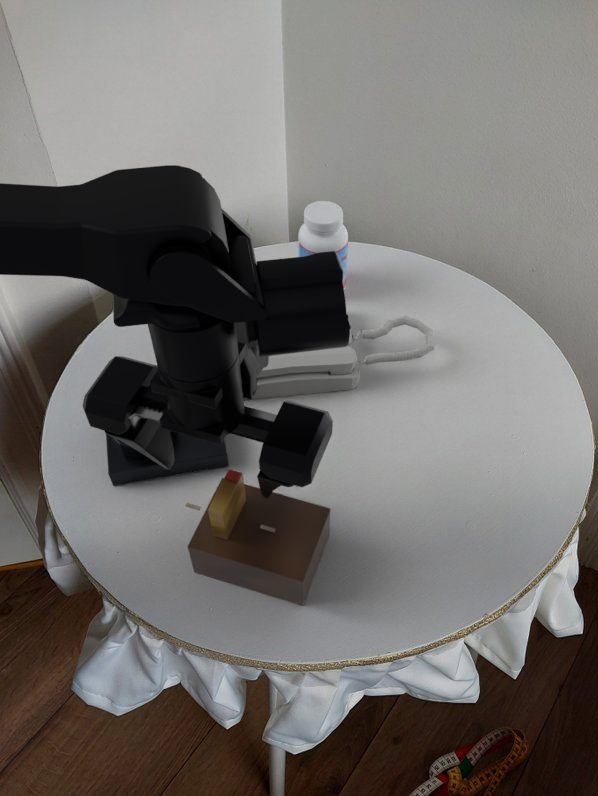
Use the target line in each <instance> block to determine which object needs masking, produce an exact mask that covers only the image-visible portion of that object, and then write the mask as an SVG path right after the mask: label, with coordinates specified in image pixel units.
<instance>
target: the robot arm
mask: <svg viewBox="0 0 598 796" xmlns="http://www.w3.org/2000/svg"><path fill="white" fill-rule="evenodd" d="M221 203H222V202H221V199H220V197H219V196H218V193H217V191H216V189H215V188H214V187H213V186H212V185H211V183H210V182H209V181H207V179H205V178H204V177H203V175H202V174H201V173H200V172H199V171H196V170H195V169H193V168H190V167H186V166H181V165H175V164H172V165H169V164H168V165H166V164H165V165H156V166H146V167H145V166H144V167H134V168H122V169H121V168H120V169H116V170H112V171H110V172H108V173H106V174H103V175H101V176H98V177H96V178H93V179H91V180H89V181H86V182H84V183H80V184H72V185H61V186H59V185H58V186H56V185H39V184H38V185H36V184H18V183H3V182H2V183H1V182H0V276H31V277H32V276H34V277H35V276H36V277H41V276H42V277H63V278H70V279H77V280H83V281H87V282H88V283H91V284H93V285H95V286H97V287H99V288H101V289H103V290H105V291H107V292H109V293H110V294H112V315H113V316H112V317H113V319H112V320H113V324H114V326H116V327H119V328H123V327H125V328H126V327H132V326H142V325H147V327H148V332H149V336H150V340H151V345H152V349H153V352H154V357H155V361H156V364H152V363H149V362H145V361H141V360H138V359H134V358H130V357H127V356H122V355H121V356H120V355H116V356H114V357H112V358H111V359H110V360H109V361H108V362H107V364H106V365H105V367H104V368H103V369H102V370H101V372H100V373H99V375H98V376H97V378H96V379H95V380H94V382H93V383H92V384H91V386H90V387H89V389H88V390H87V392H86V393H85V395H84V397H83V402H82V408H83V411H84V414H85V415H86V418H87V421H88V424H89V426H90V428H95V429H98V430H102V431H104V433H105V435H106V434H107V435H109V436H112V437H115V438H116V439H118V440H120V441H122V442H123V443H125V444H127V445H129V446H130V447H132V448H134V449H135V450H137V451H139V452H140V453H142V454H144V455H145V456H147V457H148V458H150V459H151V460H153V461H155V462H156V463H158V464H159V465H161V466H162V467H164V468H165V469H169V470H170V469H171V467H172V465H173V464H174V461H175V457H174V448H173V444H172V440H171V436H170V431H173V432H177V433H180V434H184V435H187V436H191V437H194V438H198V439H201V440H205V441H208V442H212V443H215V444H219V445H221V444H222V442H223V440H224V439H226V437H227V435H233V436H236V437H240V438H244V439H248V440H251V441H255V442H258V443H262V445H261V451H260V455H259V459H258V467H259V470H258V471H259V472H258V473H257V476H256V478H257V482H258V486H259V488H260V490H261V494H262V495H263V496H264V498H267V499H268V498H269V497H270V495H271V493H272V492H274V491H275V490H277V489H278V488H279V487H284V488H292V487H294V486H295V487H299V488H304V487H306V486H309V485H311V484H312V483H313V481H314V478H315V475H316V473H317V471H318V470H319V469H318V468H319V466H320V464H321V462H322V460H323V456H324V454H325V452H326V449H327V447H328V444H329V442H330V441H331V438H332V435H333V426H334V425H333V424H334V421H333V419H332V417H331V414H330V412H329V411H327V410H324V409H319V408H316V407H312V406H310V405H309V406H308V405H305V404H302V403H298V402H295V401H290V400H285V401H283V402H282V404H281V406H280V408H279V410H278V412H277V414H275V413H272V412H268V411H264V410H261V409H257V408H253V407H250V406H246V405H245V401H246V400H250V401H252V400H253V399H252V398H253V396H254V395H255V393H256V391H257V378H256V376H257V375H258V374H259V373H260V372H261V370H262V369H263V368H264V367H267V365H268V362H269V356H274V355H282V354H290V353H299V352H307V351H316V350H324V349H332V348H341V347H347V346H348V343H349V337H350V330H351V329H350V326H351V323H350V320H349V316H348V317H347V315H348V313H347V303H346V296H345V295H346V294H345V289H344V288H343V269H342V266H341V263H340V260H339V256H338V253H337V252H335V251H329V252H320V253H315V254H312V255H309V256H304V257H299V256H295V257H285V258H275V259H267V260H266V259H265V260H257V259H256V254H255V248H254V244H253V239H252V235H251V234H250V233H249V232H248V231H246V230H245V229H244V228H243V227H242V226H241V225H240V224H239V223H238V222H237V221H236V220H235V219H234V218H233V217H232V216H231V215H229V214H228V212H227V211H225V210H224V209H223V208H222V204H221ZM169 430H170V431H169Z"/></svg>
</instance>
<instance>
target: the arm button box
mask: <svg viewBox="0 0 598 796" xmlns="http://www.w3.org/2000/svg"><path fill="white" fill-rule="evenodd" d="M169 431H170V430H169ZM170 436H171V440H172V444H173V448H174V457H175V461H174V464H173V465H172V467H171V469H170V470H169V469H165V468H164V467H162V466H161V465H159V464H158V463H156V462H155V461H153V460H151V459H150V458H148V457H147V456H145V455H144V454H142V453H140V452H139V451H137V450H135V449H134V448H132V447H130V446H129V445H127V444H125V443H123V442H122V441H120V440H118V439H116V438H115V437H112V436H109V435H107V434H106V433H105V440H106V441H105V442H106V455H107V456H106V457H107V471H108V477H109V479H110V482H111V484H112V486H113V487H114V486H115V487H116V486H121V485H126V484H134V483H138V482H144V481H151V480H156V479H157V480H158V479H163V478H169V477H173V476H174V477H175V476H179V475H187V474H191V473H197V472H203V471H208V470H215V469H220V468H221V469H222V468H226V467H230V463H229V455H228V451H227V446H226V440H225V439H226V438H225V439H224V440H223V442H222V444H221V445H219V444H215V443H212V442H208V441H205V440H201V439H198V438H194V437H191V436H187V435H184V434H180V433H177V432H173V431H170Z"/></svg>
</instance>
